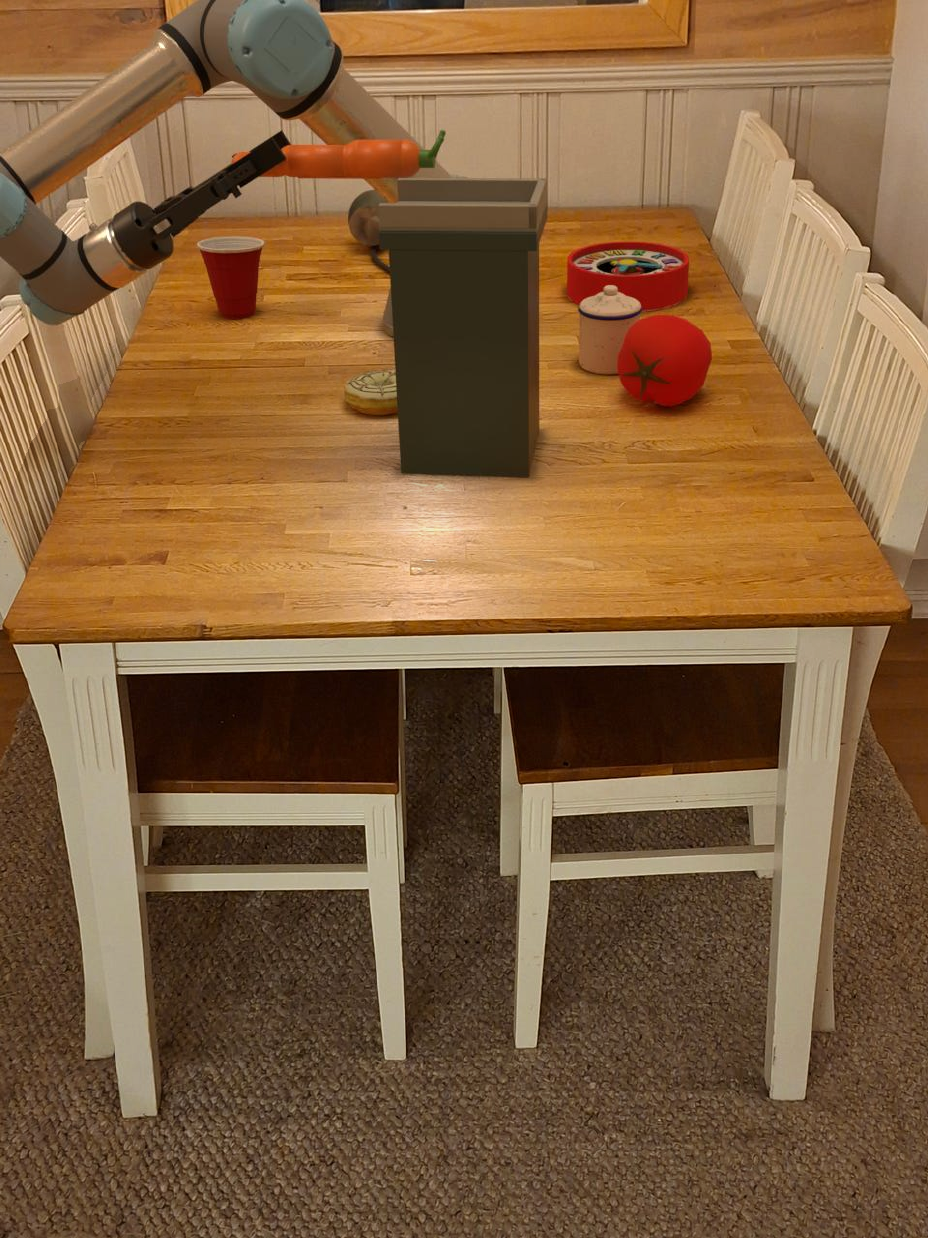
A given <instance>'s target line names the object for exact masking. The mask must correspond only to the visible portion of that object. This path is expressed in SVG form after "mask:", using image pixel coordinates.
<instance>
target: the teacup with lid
mask: <svg viewBox="0 0 928 1238" xmlns="http://www.w3.org/2000/svg"><path fill="white" fill-rule="evenodd" d="M577 311H578V312H579V339H578V340H579V341H578V342H579V343H578V345H579V347H578V351H579V352H578V359H579V360H578V365H579V366H580V367H581V368H582V369H583V370H585V371H587V372H589V373H593V374H597V375H619V373H618V368H617V362H618V354H619V352H620V350H621V348H622V345H623V342H624V339H625V336H626V334H627V332H628V330H629V328H630V327H631V326H632V325H633V324H634V323H635V322H637V321H639V320H640V319H641V313H642V312H641V311H642V307H641V304H640V302H639V301H638V300H636V299H635V298H632V297H629V296H626V295H624V294H622V293H620V292H618V288H617V287H616V286H614V285H608V286H605V287H604V290H603V292H601V293H598V294H597V295H595V296H592V297H588V298H586V299H584V300H583V301H582V302H581V303H580V305H579V306H578V307H577Z"/></svg>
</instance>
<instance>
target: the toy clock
mask: <svg viewBox="0 0 928 1238" xmlns="http://www.w3.org/2000/svg"><path fill="white" fill-rule="evenodd" d="M566 258H567V259H566V296H567V299H569V300H570V301H571V302H573V303H574V304H576V305H580V303H581V302H582V301H583V300H584V299H586V298H588V297H592V296H595V295H597V294H598V293H601V292H603V290H604V287H605V286H608V285H614V286H616V287H617V288H618V292H620V293H622V294H624V295H626V296H629V297H632V298H635V299H636V300H638V301H639V302H640V304H641V307H642V311H641V313H645V312H653V311H660V310H664V309H668V308H672V307H674V306H677V305H679V304H680V303H682V302H684V301H685V300H686V299H687V298H688V294H689V293H688V292H689V275H690V274H689V273H690V272H689V271H690V256H689V255H688V253H686V252H685V251H683V250H682V249H680V248H677V247H674V246H671V245H667V244H663V243H655V242H647V241H609V242H608V241H607V242H601V243H595V244H590V245H586V246H583V247H579V248H577V249H575V250H574V251H572V252H570V253H569V254H568V256H567V257H566Z"/></svg>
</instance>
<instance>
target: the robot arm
mask: <svg viewBox="0 0 928 1238" xmlns="http://www.w3.org/2000/svg"><path fill="white" fill-rule="evenodd" d="M230 82H231V83H232V82H234V83H237V84H240V85H243V87H245V88H247V89H248V90H249V91H250V92H252V93H253V94H254V95H255V96H256V97H257V98H258V99H260V100H261V101H262V102H263V103H264V104H265V105H266V106H267V107H268V108H269V109H271V111H272V112H274V113H275V114H276V115H277V116H278V118H280V119H281V120H284V121H295V120H299V121H301V122H302V123H303V124H304V125H305V126H306V127H307V128H308V129H310V131H312V133H313V134H315V135H316V136H317V137H318V138H319V139H320V140H321V141H322V142H323V143H324V144H325V145H348V144H349V143H350V142H352V141H354V140H409V141H412V142H414V143H415V144H416V145H417V146H418V147H419V148H420V150H426V149H425V148H424V147H423V146H422V145H421V144H420V142H418V141H417V140H416V139H415V138H414V137H413V136H412V135H411V134H410V133H409V132H408V131H407V130H406V128H404V127H403V126H402V124H400V122H398V121H397V120H396V119H395V118H394V117H393V115H391V114H390V113H389V112H388V111H387V110H386V108H384V107H383V106H382V104H381V103H380V102H378V101H377V100H376V99H375V98H374V97H373V96H372V94H370V93H369V91H367V90H366V89H365V87H363V86H362V85H361V84H360V83H359V82H358V81H357V80H356V79H355V78H354V77H353V76H352V75H351V74H350V73H349V72H348V71H347V70H346V68H344V51H343V49H342V48H341V47H340V46H339V44H337V43H336V42H335V41H334V40H333V39H332V35H331V31H330V30H329V28H328V25H327V22H326V21H325V20H324V17H322V15H321V14H320V13H319V12H318V10H316V8H315V7H313V6H312V5H311V4H309V2H307V1H305V0H195V1H194V2H192V3H191V4H189V5H188V6H186V7H185V8H183V10H181V11H180V12H179V13H177V14H176V15H175V16H173V17H172V18H170V19H169V20H168V21H166V22H164V23H163V24H162V25H161V26H159V27H158V28H156V29H155V30H154V31H153V36H152V42H151V43H150V44H149V45H148V46H146V47H145V48H144V49H142V50H141V51H139V52H138V53H136V54H135V55H133V57H131V58H130V59H128V60H127V61H125V62H124V63H123V64H121V65H120V66H118V67H117V68H115V69H114V70H113V71H111V72H110V73H109V74H107V75H105V76H104V77H103V78H101V79H100V80H99V81H97V82H96V83H94V84H93V85H92V86H91V87H89V88H87V90H85V91H83V92H82V93H81V94H79V95H78V96H77V97H75V98H74V99H72V100H70V101H69V102H68V103H67V104H66V105H64V106H63V107H62V108H60V109H59V110H57V111H55V113H53V114H52V115H50V116H49V117H48V118H46V119H45V120H43V121H42V122H40V123H38V125H36V126H35V127H33V128H32V129H31V130H29V131H28V132H26V133H25V134H24V135H22V136H21V137H19V138H18V139H17V140H16V141H14V142H13V143H11V144H10V145H8V146H7V147H6V148H4V149H2V150H1V151H0V258H1V259H2V260H3V261H4V262H6V264H8V265H9V266H10V267H11V268H13V269H14V270H15V271H16V272H17V273H18V275H19V276H21V277H20V280H19V282H18V292H19V295H20V299H21V300H22V302H23V304H24V305H26V306H27V308H28V309H29V313H30V314H31V315H33V317H34V318H36V319H37V320H38V321H40V322H41V323H43V324H46V325H48V326H59V325H62V324H64V323H66V322H68V321H69V320H71V319H73V318H76V317H77V316H80V315H83V314H84V313H85V312H87V311H88V309H90V308H91V307H94V305H96V304H97V303H99V302H100V301H102V300H103V299H105V298H107V297H109V295H111V294H113V293H114V292H116V291H118V290H119V289H122V288H124V287H126V286H127V285H129V284H130V283H132V282H133V281H135V280H137V279H138V278H140V277H141V276H143V275H144V274H146V273H147V271H148V270H152V269H153V268H155V267H157V266H158V265H160V264H161V263H163V262H165V261H166V260H168V259H169V258H170V257H171V256H172V255H173V252H174V240H173V238H175V237H177V236H178V235H180V234H181V233H183V231H185V229H186V228H188V227H189V226H190V225H192V224H193V223H194V222H196V221H197V220H198V219H199V217H201V216H203V215H204V214H205V213H206V212H207V211H208V210H210V209H211V208H213V207H214V206H216V205H217V204H219V203H221V202H222V201H225V200H228V198H229V197H230V195H232V196H233V197H234V199H237V198H239V197H240V196H242V195H243V193H242V192H241V190H240V189H242V188H244V187H246V185H248V184H250V183H251V182H253V181H255V180H256V179H258V178H260V177H259V176H261V175H262V174H264V173H265V172H267V171H268V170H270V169H272V168H273V167H275V166H276V165H278V164H279V163H281V162H282V161H284V160H285V159H286V157H285V155H284V154H283V152H282V150H281V149H282V148H283V147H285V146H287V145H292V144H291V141H289V139H288V137H287V136H286V134H285V133H284V131H283V130H282V129H281V130H279V131H278V132H276V133H275V134H274V135H272V136H270V137H269V138H267V139H266V140H264V141H263V142H261V143H259V144H258V145H256V146H255V147H254V148H252V149H250V150H249V151H248V152H250V153H249V154H247V155H246V156H244V157H242V158H241V159H239V160H238V161H236V162H235V163H233V164H232V162H231V163H230V164H228V165H227V166H225V167H223V168H222V169H221V170H219V171H217V172H216V173H214V174H212V175H211V176H209V177H208V178H206V179H205V180H203V181H202V182H200V183H199V184H197V185H196V186H194V187H193V186H188V187H186V188H185V189H183V190H182V191H180V192H178V193H177V194H176V195H171V196H169V197H168V198H166V199H165V200H163V201H161V202H160V203H159V204H158V205H156V206H155V207H154V208H152V207H151V206H150V205H149V204H148V203H145V202H143V201H134V202H132V203H130V204H129V205H127V206H126V207H124V208H123V209H121V210H119V211H118V212H117V213H115V214H114V215H113V217H112V218H108V219H107V220H105V221H104V222H102V223H100V224H99V225H97V224H96V223H94V222H92V223H90V224H89V225H88V229H89V231H88V232H87V233H85V234H84V235H82V236H80V237H79V238H77V239H75V240H72V239H71V238H70V237H69V236H68V235H67V234H66V233H65V232H64V231H63V229H61V228H60V227H59V226H57V224H55V223H54V221H53V220H51V218H50V217H49V216H48V215H47V214H46V213H45V212H44V211H43V210H42V209H40V207H38V204H39V203H41V202H42V201H43V200H45V199H46V198H48V197H49V196H50V195H52V194H53V193H55V192H56V191H57V190H59V189H60V188H62V187H63V186H64V185H66V184H67V183H69V182H70V181H71V180H73V179H75V177H77V176H78V175H80V174H81V173H82V172H84V171H85V170H86V169H88V168H89V167H91V166H92V165H93V164H95V163H96V162H98V161H99V160H100V159H102V158H103V157H104V156H106V155H107V154H109V153H110V152H111V151H113V150H114V149H116V148H117V147H118V146H119V145H121V144H122V143H124V142H126V141H127V140H128V139H129V138H131V137H132V136H134V135H135V134H137V133H138V132H139V131H141V130H142V129H143V128H145V127H146V126H148V125H149V124H151V123H152V122H153V121H154V120H156V119H158V117H160V116H161V115H162V114H164V113H165V112H167V111H169V110H170V109H171V108H172V107H174V106H176V104H178V103H179V102H181V101H183V99H185V98H186V97H188V96H192V97H195V98H196V97H197V98H200V97H202V96H203V95H205V94H206V93H208V92H209V91H210V90H211V89H213V88H215V87H217V86H220V85H223V84H226V83H230ZM237 153H238V152H235V153H234V154H232V155H231V158H232V159H233V157H234V156H235V155H236V154H237ZM408 178H468V177H467V176H460V175H458V174H450V173H449V171H447V170H446V169H445V168H444V167H443V166H442V165H441V164H440V163H439V162H438V161H437V160H436V161H435V168H420V169H419V171H418V172H417V173H416V174H415V175H413V176H411V177H408ZM397 179H398V178H382V179H363V180H364V181H365V182H366V183H367V184H368V185H369V186H371V188H372V189H373V190H376V191H377V192H378V193H379V194H380V195H381V196H382V197H383V198H384V199H386V200H387V201H388V203H397V202H398V187H397ZM239 188H240V189H239ZM376 251H377V248H376V246H371V247H370V257H371V259H372V261H373V263H375V264H376V265H377V266H378V267H379V268H381V269H383V270H384V271H386V272H388V273H390V266H389V265H387V264H385V263H384V262H382V260H380V259H379V257H378V256H377V254H376ZM382 326H383V331H384V332H385V333H386V334H387V335H389V336H391V337H393V319H392V301H391V286H390V287H389V291H388V295H387V299H386V303H385V307H384V310H383V316H382ZM393 338H394V337H393Z"/></svg>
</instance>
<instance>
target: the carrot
mask: <svg viewBox="0 0 928 1238" xmlns="http://www.w3.org/2000/svg"><path fill="white" fill-rule="evenodd" d="M446 133H447V131H446V130H445V129H440V130H439V132H438V135H437V137H436V140H435V142H434V144H433V145H432V146H431V148H430V149H425V150H420V148H419V147H418V146H417V145H416V144H415V143H414V142H412V141H409V140H354V141H352V142H350V143H349V144H348V145H327V144H291V145H287V146H285V147H283V148H282V149H281V150H282V152H283V154H284V155H285V157H286V159H285V160H284V161H282V162H281V163H279V164H278V165H276V166H275V167H273V168H272V169H270V170H268V171H267V172H265V173H264V174H262V175H261V176H259V177H258V178H283V177H284V176H285V177H289V178H297V179H325V180H326V179H327V180H328V179H329V180H331V179H333V180H335V179H341V180H343V179H344V180H345V179H348V180H350V179H351V180H358V179H359V180H364V179H382V178H408V177H411V176H413V175H415V174H416V173H417V172H418V171H419V169H420V168H435V161H437V159H436V158H437V156H438V153H439V151H440V148H441V147H442V144H443V143H444V141H445V137H446ZM236 153H237V154H236V155H235V156H234V157H233V158H232V159H231V163H232V164H233V163H235V162H236V161H238V160H239V159H241V158H242V157H244V156H246V155H247V154H249V153H250V152H249V151H239V152H236Z"/></svg>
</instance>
